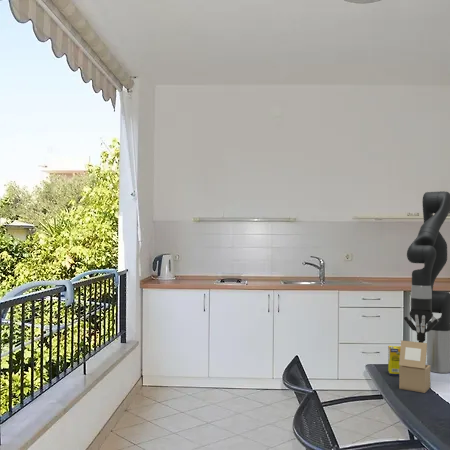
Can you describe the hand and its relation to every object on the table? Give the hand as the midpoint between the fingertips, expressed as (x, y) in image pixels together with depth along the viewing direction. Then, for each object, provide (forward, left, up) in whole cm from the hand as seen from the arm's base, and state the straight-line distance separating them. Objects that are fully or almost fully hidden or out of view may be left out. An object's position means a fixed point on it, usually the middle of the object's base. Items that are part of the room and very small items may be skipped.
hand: (421, 342), depth 201 cm
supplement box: (-7, -11, -15) cm, 20 cm away
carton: (+10, 0, -15) cm, 18 cm away
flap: (+13, 0, -2) cm, 13 cm away
